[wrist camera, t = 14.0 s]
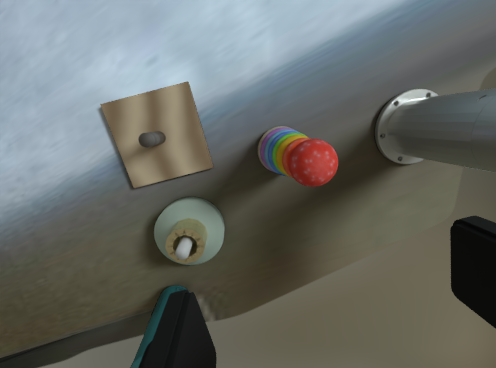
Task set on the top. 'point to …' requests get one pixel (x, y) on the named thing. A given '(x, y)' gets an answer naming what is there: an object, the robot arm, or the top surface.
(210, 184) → the top surface
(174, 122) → the oak stand
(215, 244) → the sage hub
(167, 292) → the beverage bottle
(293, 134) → the stacking toy
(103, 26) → the top surface
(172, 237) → the brass ring
